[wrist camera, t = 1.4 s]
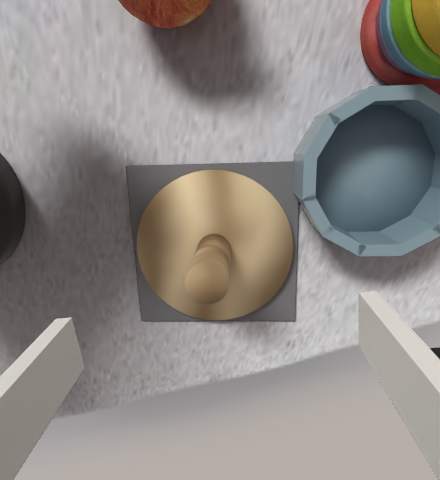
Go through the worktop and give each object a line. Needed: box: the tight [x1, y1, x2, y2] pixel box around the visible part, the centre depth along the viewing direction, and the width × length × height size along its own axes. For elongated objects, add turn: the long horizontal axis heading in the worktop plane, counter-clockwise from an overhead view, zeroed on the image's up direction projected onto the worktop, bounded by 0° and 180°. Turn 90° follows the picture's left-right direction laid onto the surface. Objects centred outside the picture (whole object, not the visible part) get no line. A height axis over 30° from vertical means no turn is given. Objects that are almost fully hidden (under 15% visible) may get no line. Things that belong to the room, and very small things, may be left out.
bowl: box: [293, 84, 440, 256], centre depth 29 cm, size 13×13×5 cm
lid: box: [137, 170, 293, 320], centre depth 30 cm, size 15×15×9 cm
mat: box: [126, 162, 299, 321], centre depth 34 cm, size 16×16×1 cm
